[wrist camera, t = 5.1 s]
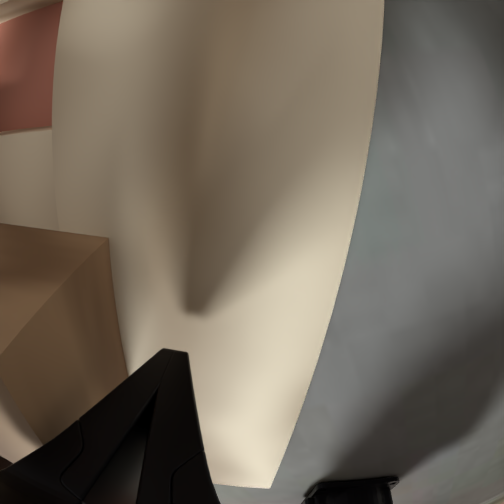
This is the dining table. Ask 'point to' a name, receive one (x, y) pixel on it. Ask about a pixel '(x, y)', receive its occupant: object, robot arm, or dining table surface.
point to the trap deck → (201, 182)
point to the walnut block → (54, 333)
